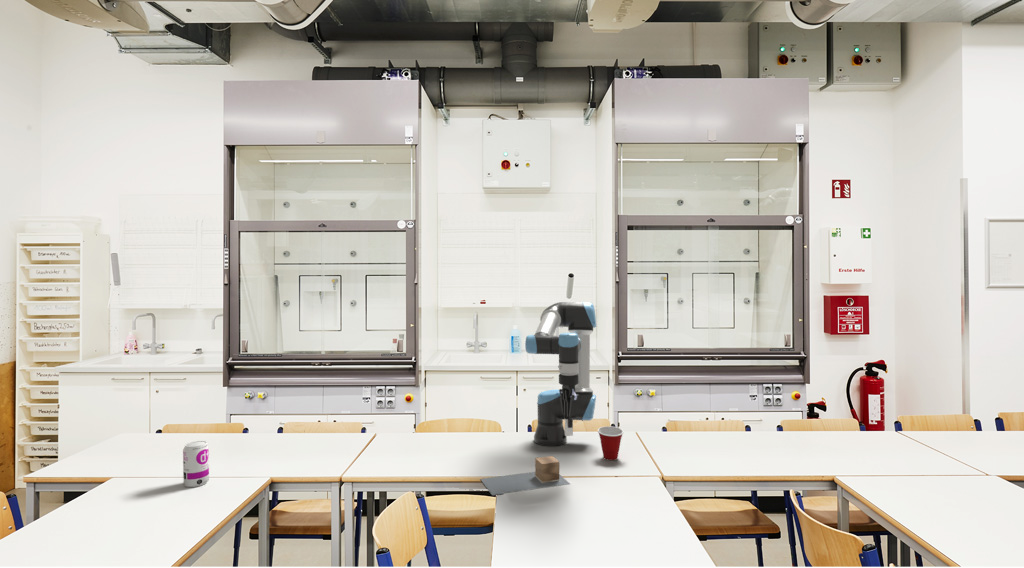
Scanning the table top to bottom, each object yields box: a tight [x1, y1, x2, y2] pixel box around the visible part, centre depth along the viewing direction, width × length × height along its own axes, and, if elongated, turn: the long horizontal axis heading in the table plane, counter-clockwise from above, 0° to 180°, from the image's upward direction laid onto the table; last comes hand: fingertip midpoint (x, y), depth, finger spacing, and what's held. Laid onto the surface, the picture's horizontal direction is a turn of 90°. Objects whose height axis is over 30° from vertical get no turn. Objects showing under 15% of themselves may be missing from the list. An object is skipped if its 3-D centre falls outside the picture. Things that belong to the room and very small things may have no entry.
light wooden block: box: [534, 455, 560, 483], centre depth 206 cm, size 7×7×7 cm
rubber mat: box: [479, 471, 571, 496], centre depth 204 cm, size 30×16×1 cm, turn 108°
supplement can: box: [182, 440, 210, 488], centre depth 204 cm, size 8×8×15 cm
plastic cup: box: [597, 425, 624, 461], centre depth 230 cm, size 11×11×12 cm
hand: (568, 435), depth 209 cm, fingers closed
